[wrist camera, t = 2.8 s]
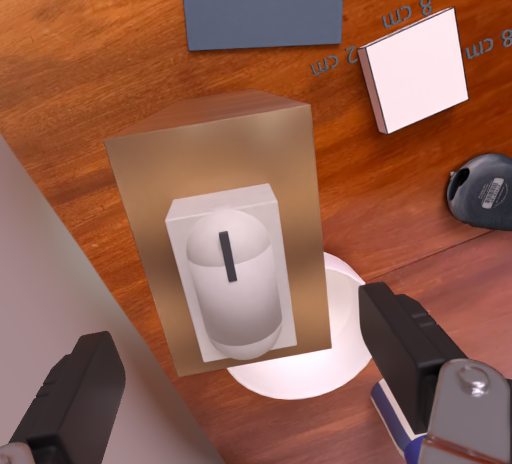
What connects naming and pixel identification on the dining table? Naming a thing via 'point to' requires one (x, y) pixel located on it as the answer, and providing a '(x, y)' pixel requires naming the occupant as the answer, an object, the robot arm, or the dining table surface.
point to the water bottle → (396, 423)
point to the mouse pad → (262, 23)
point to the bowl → (320, 362)
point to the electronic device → (483, 192)
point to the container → (415, 69)
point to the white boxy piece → (233, 271)
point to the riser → (221, 179)
